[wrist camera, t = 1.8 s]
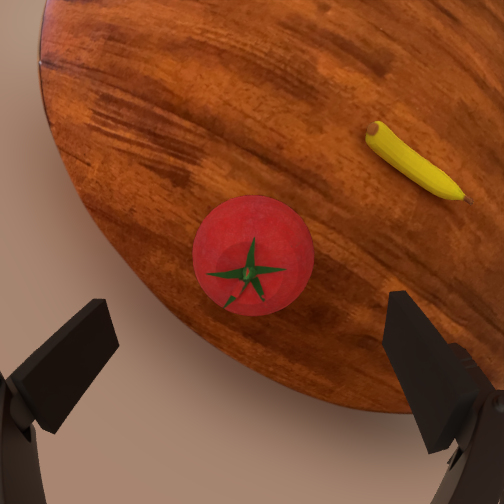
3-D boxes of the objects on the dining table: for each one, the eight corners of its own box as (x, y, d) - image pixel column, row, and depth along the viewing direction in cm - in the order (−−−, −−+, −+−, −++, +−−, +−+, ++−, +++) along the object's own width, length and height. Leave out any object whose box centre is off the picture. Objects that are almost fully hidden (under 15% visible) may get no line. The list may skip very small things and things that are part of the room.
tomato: (237, 305, 27) (223, 359, 20) (185, 221, 25) (148, 250, 18) (326, 263, 25) (345, 307, 18) (277, 170, 23) (278, 176, 16)
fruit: (449, 185, 22) (480, 192, 17) (439, 204, 23) (469, 216, 18) (360, 119, 21) (380, 111, 17) (349, 140, 22) (366, 137, 17)
